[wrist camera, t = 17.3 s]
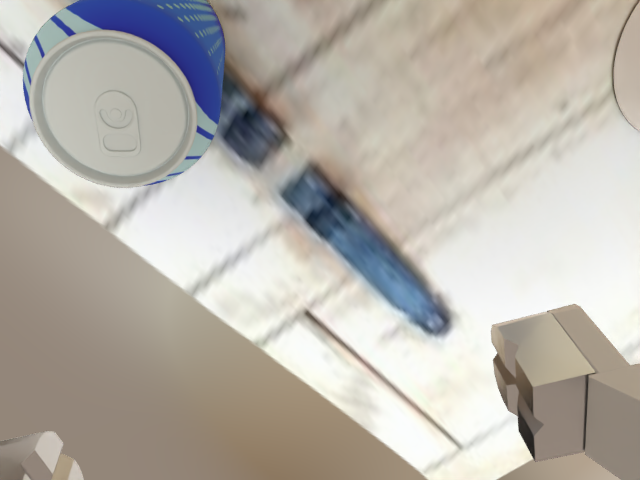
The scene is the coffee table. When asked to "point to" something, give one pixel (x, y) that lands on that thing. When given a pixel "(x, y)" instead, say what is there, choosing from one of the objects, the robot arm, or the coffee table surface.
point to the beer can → (127, 87)
